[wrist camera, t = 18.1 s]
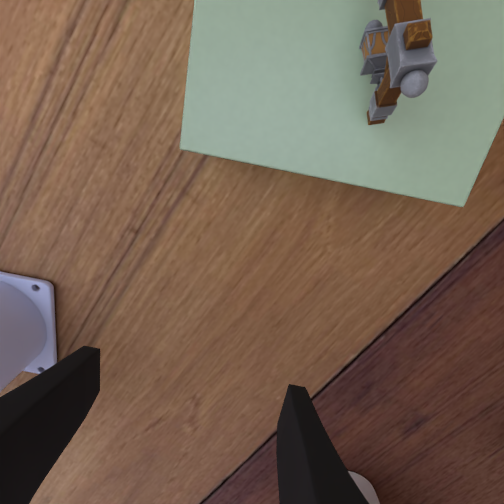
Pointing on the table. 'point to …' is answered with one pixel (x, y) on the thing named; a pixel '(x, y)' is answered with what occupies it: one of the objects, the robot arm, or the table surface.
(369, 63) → the wooden post with brackets
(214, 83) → the block
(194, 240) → the table surface
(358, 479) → the cup
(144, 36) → the table surface
